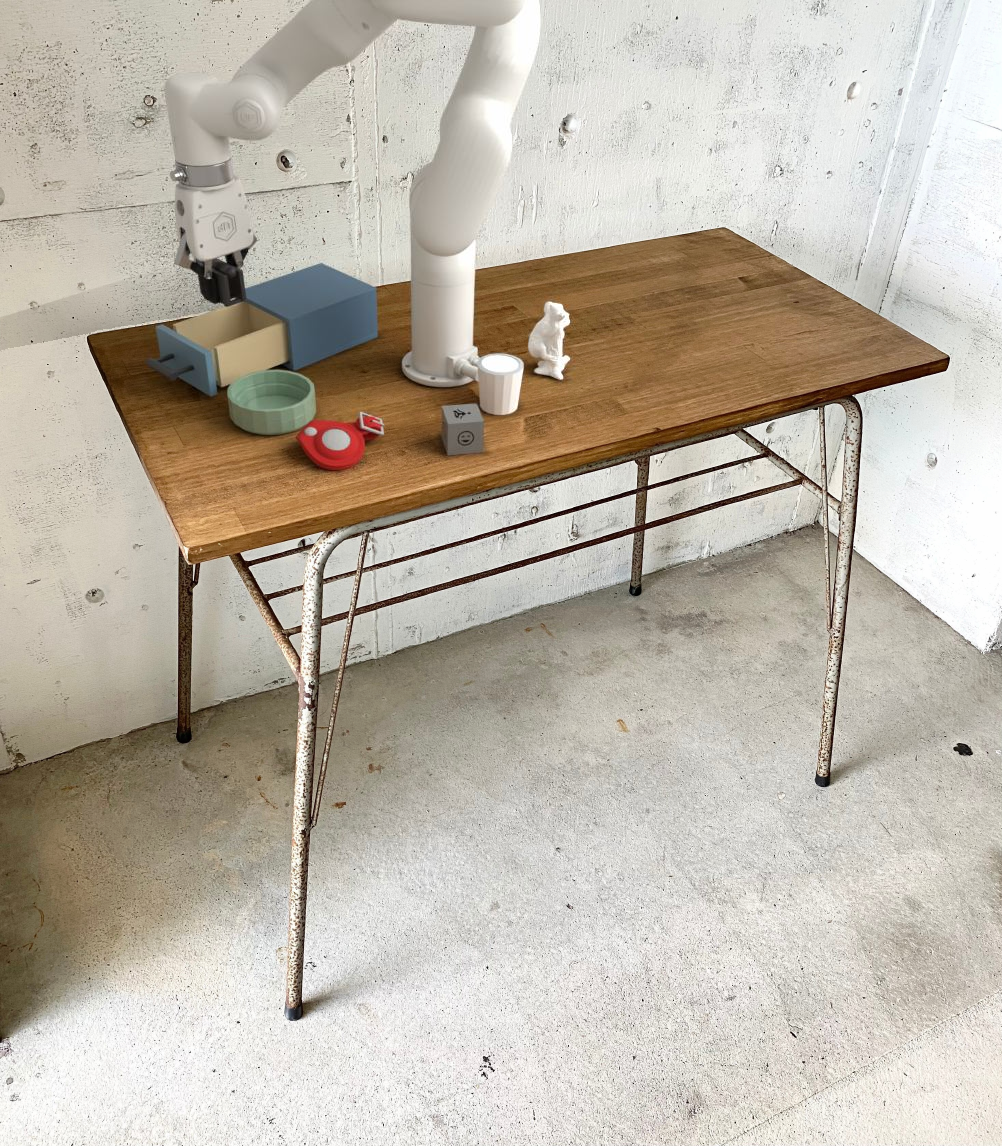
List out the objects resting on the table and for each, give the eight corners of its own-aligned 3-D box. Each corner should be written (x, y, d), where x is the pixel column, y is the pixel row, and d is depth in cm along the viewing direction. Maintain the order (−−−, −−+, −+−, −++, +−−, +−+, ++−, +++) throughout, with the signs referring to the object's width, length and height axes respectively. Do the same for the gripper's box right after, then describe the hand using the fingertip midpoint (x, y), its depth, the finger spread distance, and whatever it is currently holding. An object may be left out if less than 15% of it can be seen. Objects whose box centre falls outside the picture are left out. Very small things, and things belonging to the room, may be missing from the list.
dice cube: (441, 436, 156) (441, 405, 153) (475, 434, 157) (476, 403, 154) (447, 455, 152) (448, 423, 149) (482, 452, 153) (484, 421, 150)
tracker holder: (349, 471, 146) (284, 440, 147) (347, 492, 149) (283, 461, 151) (392, 414, 153) (329, 384, 154) (389, 435, 156) (328, 405, 157)
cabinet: (293, 371, 170) (289, 319, 165) (240, 342, 177) (234, 291, 172) (378, 337, 180) (376, 287, 175) (324, 310, 187) (321, 262, 182)
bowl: (333, 416, 159) (331, 390, 157) (266, 446, 152) (263, 420, 150) (280, 386, 166) (278, 361, 163) (213, 414, 158) (209, 388, 156)
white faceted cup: (493, 389, 168) (495, 348, 163) (530, 404, 165) (533, 361, 160) (466, 407, 163) (467, 364, 159) (504, 421, 160) (506, 379, 156)
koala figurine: (575, 383, 170) (582, 310, 163) (532, 384, 170) (537, 311, 162) (565, 358, 177) (571, 287, 170) (524, 359, 176) (528, 288, 169)
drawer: (185, 406, 158) (179, 363, 154) (137, 376, 165) (129, 335, 160) (299, 361, 171) (296, 320, 166) (250, 335, 177) (245, 295, 173)
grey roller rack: (247, 301, 162) (243, 264, 158) (228, 308, 160) (223, 271, 156) (218, 287, 166) (213, 251, 162) (199, 293, 164) (194, 257, 160)
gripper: (169, 192, 144) (191, 321, 156) (270, 164, 154) (283, 288, 166) (137, 178, 148) (161, 305, 160) (237, 152, 158) (253, 273, 169)
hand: (223, 295), depth 162 cm, fingers closed on grey roller rack, 3 cm apart
